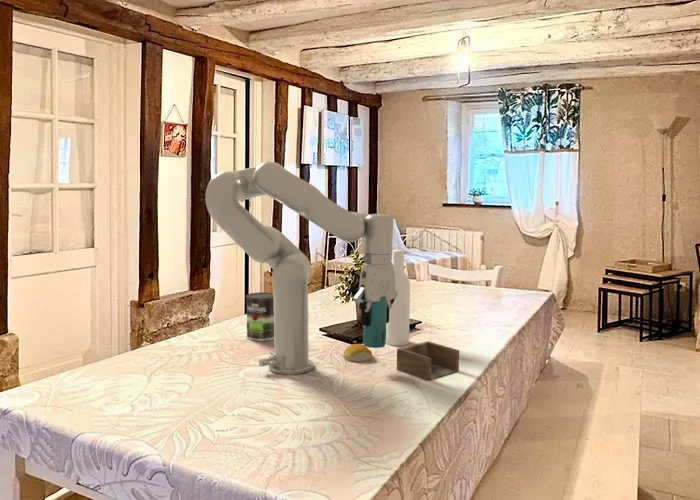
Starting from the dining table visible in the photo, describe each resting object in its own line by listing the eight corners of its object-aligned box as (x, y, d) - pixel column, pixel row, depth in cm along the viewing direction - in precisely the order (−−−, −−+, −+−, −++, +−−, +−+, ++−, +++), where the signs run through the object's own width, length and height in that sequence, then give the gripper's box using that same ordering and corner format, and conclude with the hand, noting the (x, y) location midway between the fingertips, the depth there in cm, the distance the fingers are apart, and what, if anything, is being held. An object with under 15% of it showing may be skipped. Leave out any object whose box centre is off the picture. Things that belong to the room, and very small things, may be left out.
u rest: (427, 380, 166) (428, 358, 165) (396, 369, 175) (397, 348, 174) (458, 371, 174) (459, 350, 173) (427, 361, 183) (427, 341, 182)
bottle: (380, 343, 201) (381, 250, 197) (390, 338, 207) (391, 248, 204) (403, 347, 197) (405, 252, 193) (413, 341, 204) (414, 249, 200)
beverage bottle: (383, 354, 171) (387, 282, 168) (359, 352, 172) (362, 280, 170) (387, 347, 177) (390, 278, 175) (364, 345, 178) (366, 276, 176)
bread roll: (366, 352, 192) (366, 340, 191) (374, 361, 183) (374, 348, 182) (340, 354, 190) (340, 341, 189) (346, 363, 181) (346, 350, 181)
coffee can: (269, 342, 202) (269, 299, 200) (240, 339, 205) (240, 297, 203) (283, 334, 211) (282, 293, 210) (255, 331, 215) (255, 291, 213)
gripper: (362, 263, 163) (360, 330, 165) (410, 259, 174) (406, 322, 176) (344, 259, 169) (342, 324, 171) (391, 255, 180) (388, 317, 182)
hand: (375, 323), depth 174 cm, fingers closed on beverage bottle, 6 cm apart
